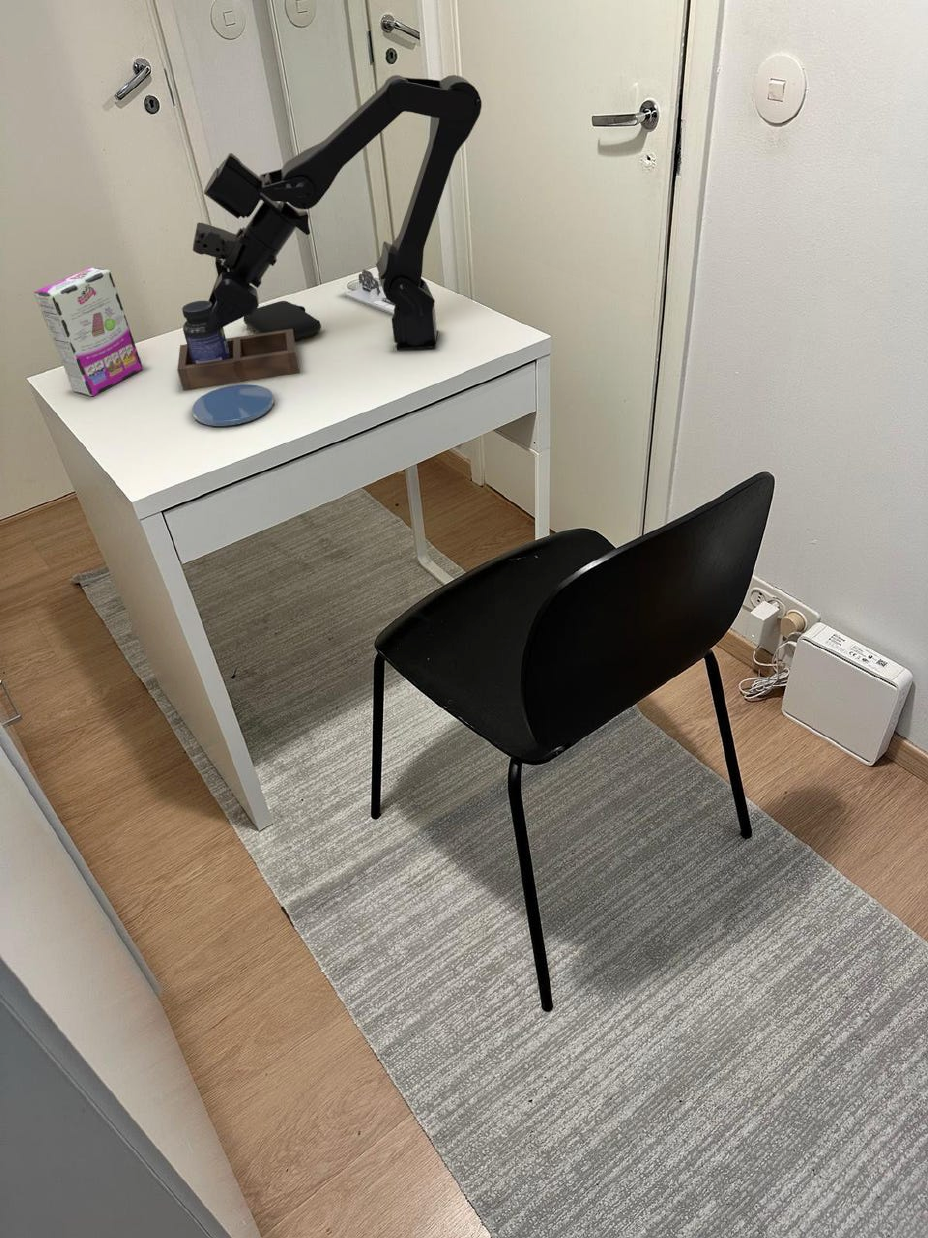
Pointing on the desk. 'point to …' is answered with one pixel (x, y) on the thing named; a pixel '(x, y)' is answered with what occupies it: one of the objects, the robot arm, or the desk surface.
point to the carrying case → (283, 320)
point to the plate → (233, 405)
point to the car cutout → (371, 293)
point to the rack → (242, 361)
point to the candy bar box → (89, 330)
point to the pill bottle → (203, 334)
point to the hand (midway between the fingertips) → (207, 320)
